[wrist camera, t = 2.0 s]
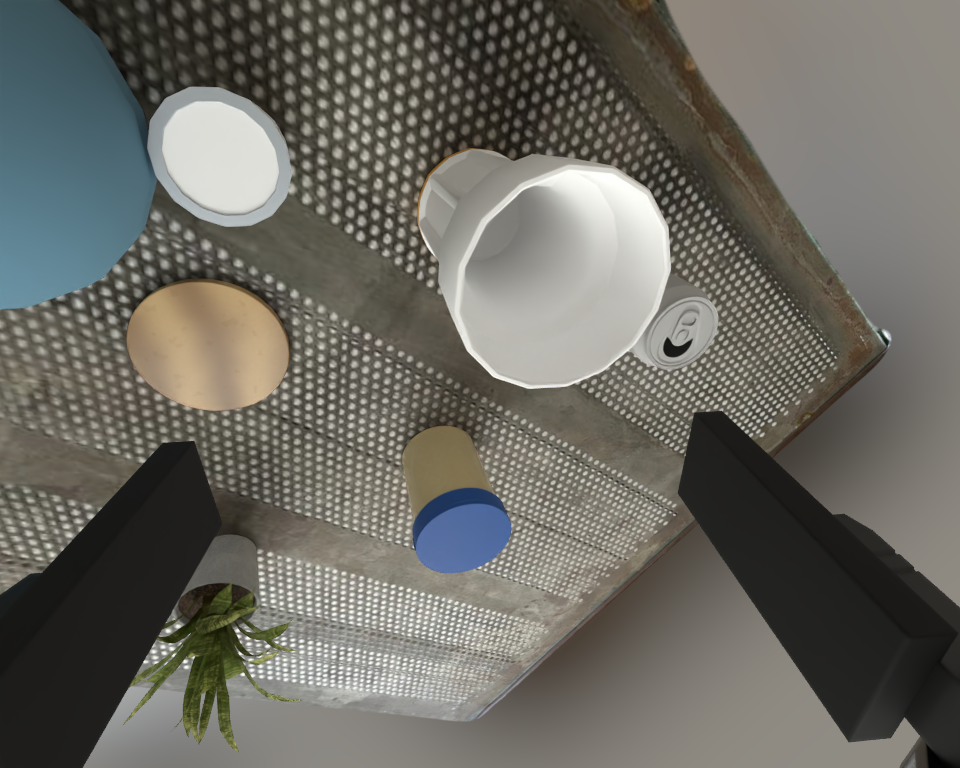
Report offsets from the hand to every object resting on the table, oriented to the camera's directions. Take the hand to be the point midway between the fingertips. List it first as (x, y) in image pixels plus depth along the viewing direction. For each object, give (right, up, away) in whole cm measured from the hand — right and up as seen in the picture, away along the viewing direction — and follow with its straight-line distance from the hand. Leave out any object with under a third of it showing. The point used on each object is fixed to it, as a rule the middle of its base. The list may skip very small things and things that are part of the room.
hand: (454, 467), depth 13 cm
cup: (0, +16, +24) cm, 29 cm away
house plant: (-24, -15, +36) cm, 46 cm away
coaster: (-20, +5, +24) cm, 32 cm away
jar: (-4, -5, +36) cm, 36 cm away
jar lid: (-1, -10, +27) cm, 29 cm away
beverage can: (+12, +12, +31) cm, 35 cm away
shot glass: (-15, +18, +18) cm, 30 cm away
